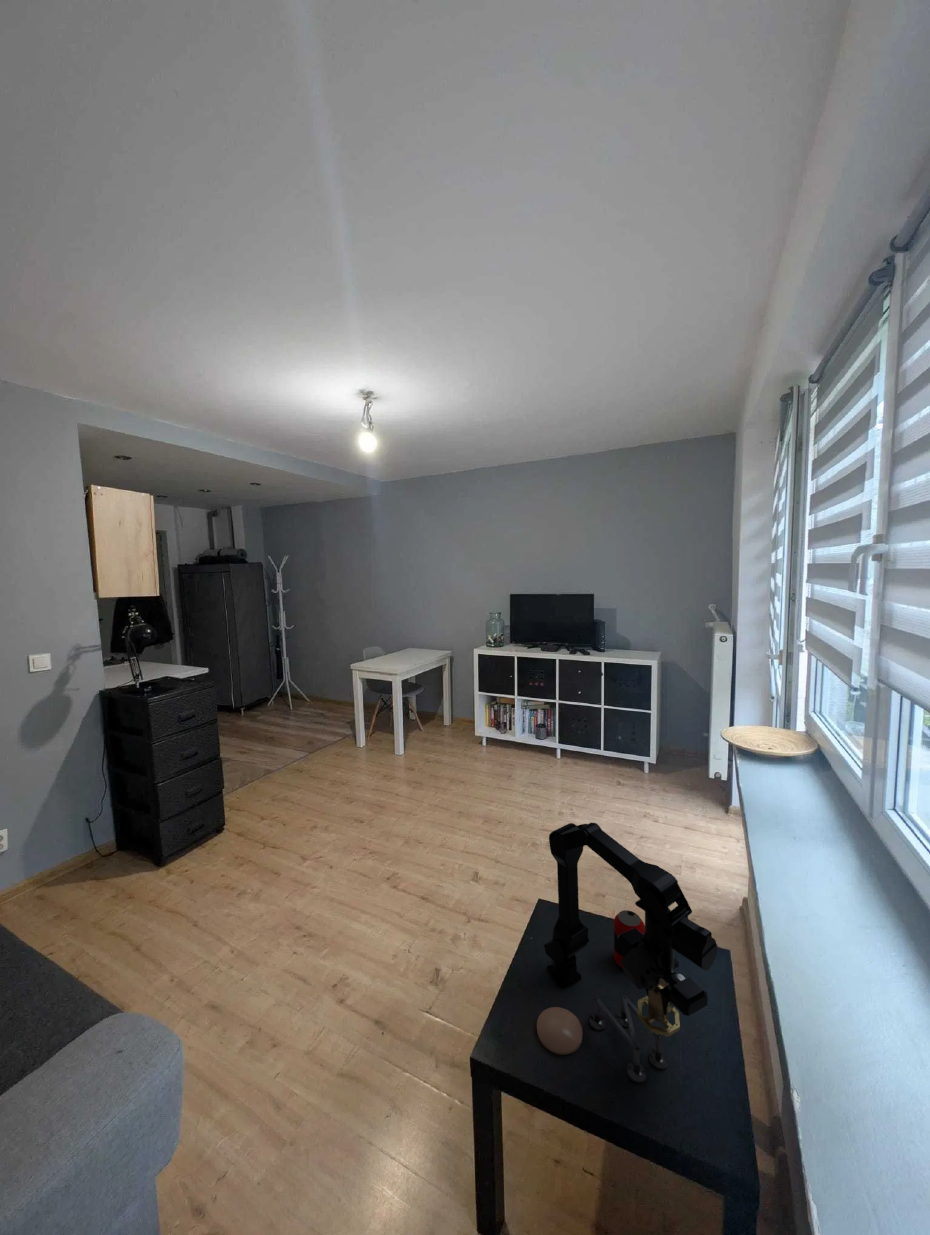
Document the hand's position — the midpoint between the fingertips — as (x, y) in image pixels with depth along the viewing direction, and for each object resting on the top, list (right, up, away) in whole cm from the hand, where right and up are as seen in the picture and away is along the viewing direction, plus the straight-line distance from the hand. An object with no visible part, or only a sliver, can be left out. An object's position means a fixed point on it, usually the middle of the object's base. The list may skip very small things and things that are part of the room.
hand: (658, 1005), depth 97 cm
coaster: (-19, -12, +7) cm, 24 cm away
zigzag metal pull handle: (-5, -12, +5) cm, 14 cm away
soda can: (+3, -10, +26) cm, 28 cm away
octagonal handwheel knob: (0, -3, 0) cm, 3 cm away
